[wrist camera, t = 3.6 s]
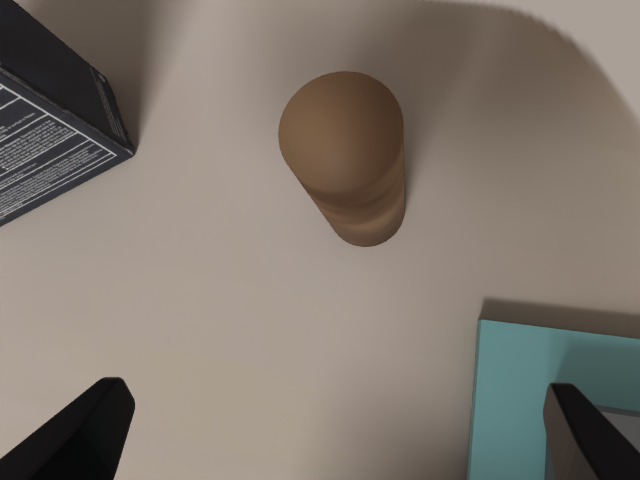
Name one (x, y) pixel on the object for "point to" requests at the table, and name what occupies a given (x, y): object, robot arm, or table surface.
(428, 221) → the table surface
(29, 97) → the small box
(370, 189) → the peg
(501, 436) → the docking socket
